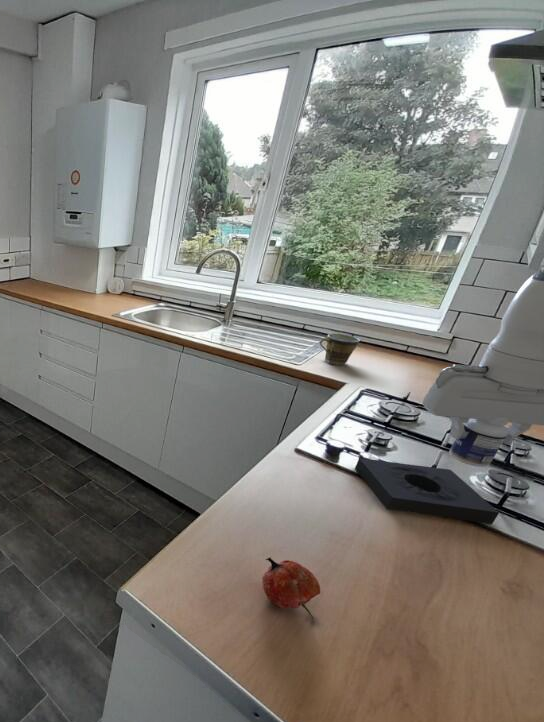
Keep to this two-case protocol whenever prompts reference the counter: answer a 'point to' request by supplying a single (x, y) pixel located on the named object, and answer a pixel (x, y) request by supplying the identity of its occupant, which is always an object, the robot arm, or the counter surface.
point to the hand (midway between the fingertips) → (479, 439)
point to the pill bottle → (480, 441)
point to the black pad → (439, 499)
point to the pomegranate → (289, 584)
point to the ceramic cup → (339, 348)
